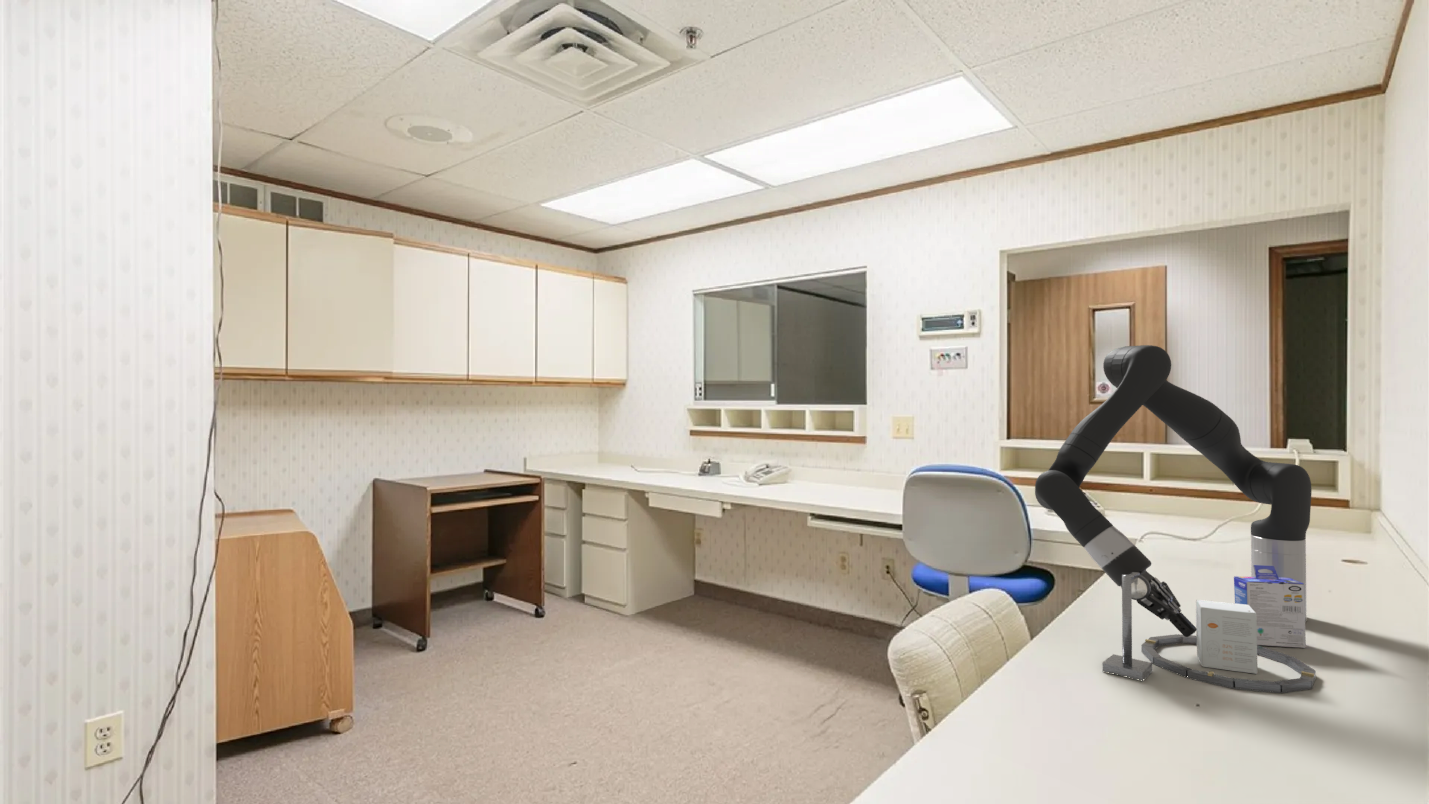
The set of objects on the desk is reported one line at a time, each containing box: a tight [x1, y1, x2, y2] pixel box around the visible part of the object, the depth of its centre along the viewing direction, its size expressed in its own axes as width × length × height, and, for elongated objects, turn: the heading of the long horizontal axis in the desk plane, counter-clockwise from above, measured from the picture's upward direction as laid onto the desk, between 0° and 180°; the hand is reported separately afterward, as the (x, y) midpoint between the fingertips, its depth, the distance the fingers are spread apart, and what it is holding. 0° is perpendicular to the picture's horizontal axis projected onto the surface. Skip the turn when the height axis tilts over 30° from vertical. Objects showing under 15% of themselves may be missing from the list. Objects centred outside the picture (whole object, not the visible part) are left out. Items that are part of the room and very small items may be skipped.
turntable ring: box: [1141, 633, 1317, 694], centre depth 122 cm, size 24×24×2 cm
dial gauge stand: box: [1102, 572, 1153, 682], centre depth 120 cm, size 9×6×16 cm, turn 135°
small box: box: [1195, 599, 1259, 675], centre depth 121 cm, size 8×6×10 cm
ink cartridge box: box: [1233, 565, 1307, 649], centre depth 133 cm, size 10×6×14 cm, turn 78°
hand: (1191, 633), depth 125 cm, fingers closed
